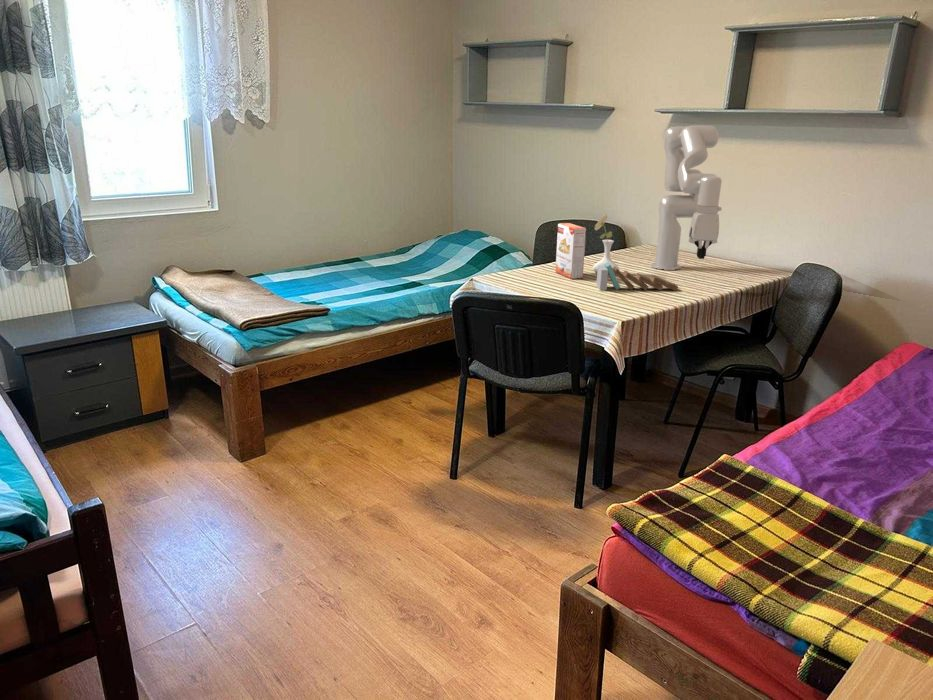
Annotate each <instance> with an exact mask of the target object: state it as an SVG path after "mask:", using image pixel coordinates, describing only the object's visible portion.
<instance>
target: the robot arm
mask: <svg viewBox="0 0 933 700" xmlns="http://www.w3.org/2000/svg"><path fill="white" fill-rule="evenodd" d="M718 142H719V132H718V129H717V127H715V126H714V125H703V124H702V125H701V124H699V125H697V124H696V125H695V124H694V125H691V124H690V125H687V126H683V125H682V126H681V125H679V126H678V125H677V126H671V127H669V128H667V129H666V130H665V131H664V135H663V148H664V152H665V153H664V154H665V171H664V189H665V190H666V191H668V192H675V193H677V192H678V193H679V192H680V193H682V192H683V193H685V195H684V194H667V195H664V196H662V197H661V198H660V199H659V202H658V213H659V214H658V215H659V218H658V219H659V221H658V232H657V233H658V234H657V240H656V241H657V243H656V249H655V250H656V252H655V261H654V262H652V263H651V268H653V269H656V268H657V270H661V269H664V270H663V271H676V270H675V269H678V270H680V269H681V268H682V267H681V265H680V264H678V262H679V252H680V243H681V235H682V234H681V233H682V227H681V224H680V223H679V221H678V218H679V219H681V218H682V219H683V218H685V219H686V218H688V219H689V218H691V221H690V224H689V225H690V226H689V230H688V242H689V243H691V244H693V245H695V246H696V248H697V249H696V256H697V259H699V260H704V259H705V257H706V256H707V249H708V248H709V247H710V246H711V245H714V244H717V243H718V238H719V233H720V214H718V213H719V212H721V211H722V207H721V206H719V204H720V197H721V190H722V181H723V180H722V178H721V177H719V176H718V175H716V174H714V173H703V172H702V171H700V170H699V169H693V168H696V167H697V166H700V165H702V164H703V163H705V162H706V160H707V159H708V157H709V152H708V149H712V148H715V147H716V146H717V144H718Z"/></svg>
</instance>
